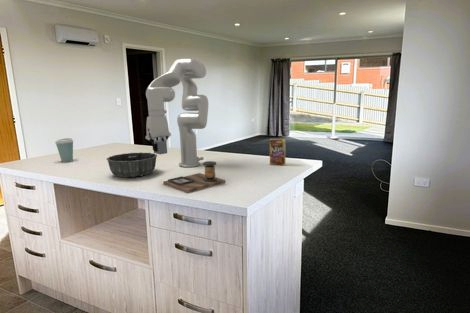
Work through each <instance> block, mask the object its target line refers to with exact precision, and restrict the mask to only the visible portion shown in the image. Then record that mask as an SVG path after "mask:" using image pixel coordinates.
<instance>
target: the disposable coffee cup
mask: <svg viewBox="0 0 470 313" xmlns="http://www.w3.org/2000/svg"><path fill="white" fill-rule="evenodd" d="M54 143H55V145H56V148H57V151H58V155H59V157H60V161H61V162H62V163H70V162H73V159H74V140H73V138H72V137H67V138H66V137H65V138H60V139H56V141H55V142H54Z"/></svg>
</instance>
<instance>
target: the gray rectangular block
mask: <svg viewBox="0 0 470 313" xmlns="http://www.w3.org/2000/svg"><path fill="white" fill-rule="evenodd" d="M156 144H157V149H158V152H155V151H153V153H154V154H156V155H164V154H166V155H167V154H168V147H167V145H168V144H167V142H166V141H163V140H161V139H159V140H158V139H156Z"/></svg>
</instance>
